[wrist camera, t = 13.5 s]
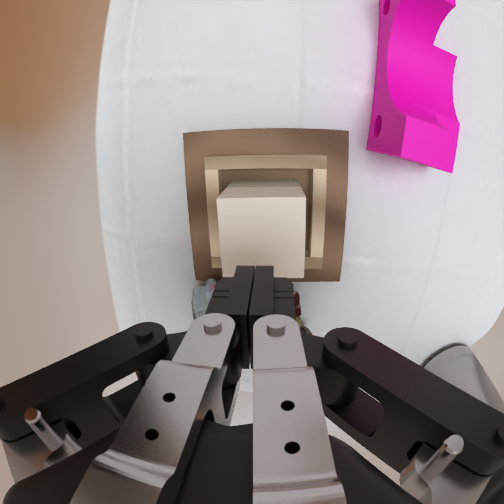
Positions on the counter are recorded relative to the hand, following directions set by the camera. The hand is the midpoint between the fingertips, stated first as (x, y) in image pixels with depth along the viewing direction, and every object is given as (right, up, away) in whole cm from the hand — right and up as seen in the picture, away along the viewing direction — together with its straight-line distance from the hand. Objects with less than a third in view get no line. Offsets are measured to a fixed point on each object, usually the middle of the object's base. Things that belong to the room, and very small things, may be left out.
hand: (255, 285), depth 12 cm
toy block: (+13, +17, +7) cm, 22 cm away
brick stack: (+1, +5, +11) cm, 13 cm away
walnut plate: (+1, +5, +13) cm, 14 cm away
